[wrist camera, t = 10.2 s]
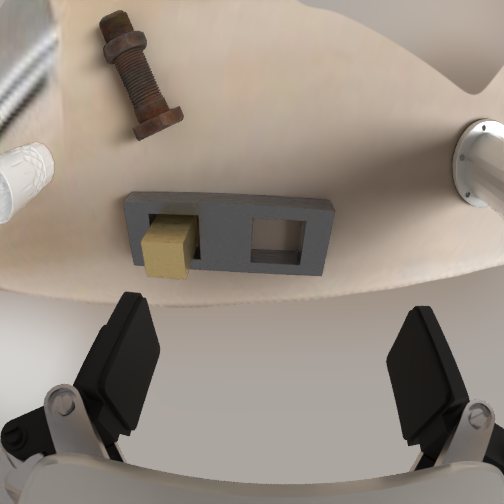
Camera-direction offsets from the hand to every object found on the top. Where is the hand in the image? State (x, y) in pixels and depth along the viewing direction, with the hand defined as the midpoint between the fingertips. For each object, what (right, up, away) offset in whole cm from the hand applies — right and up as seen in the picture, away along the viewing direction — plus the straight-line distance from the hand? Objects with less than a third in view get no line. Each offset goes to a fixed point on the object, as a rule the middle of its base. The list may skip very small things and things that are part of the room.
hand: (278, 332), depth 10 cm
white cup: (-30, +15, +23) cm, 41 cm away
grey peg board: (-4, +6, +27) cm, 28 cm away
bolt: (-13, +23, +17) cm, 31 cm away
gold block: (-10, +6, +27) cm, 30 cm away
